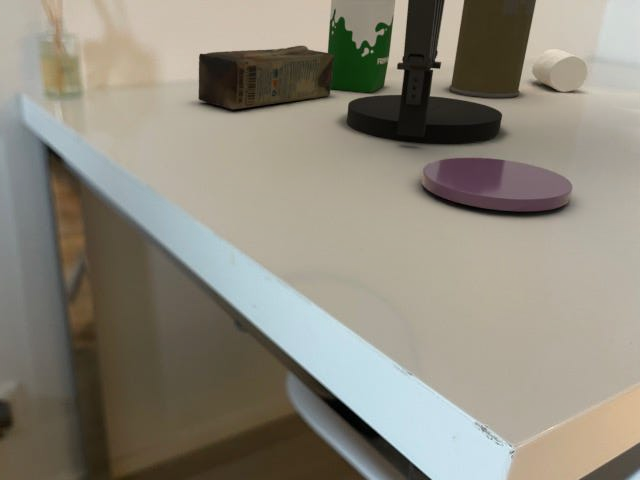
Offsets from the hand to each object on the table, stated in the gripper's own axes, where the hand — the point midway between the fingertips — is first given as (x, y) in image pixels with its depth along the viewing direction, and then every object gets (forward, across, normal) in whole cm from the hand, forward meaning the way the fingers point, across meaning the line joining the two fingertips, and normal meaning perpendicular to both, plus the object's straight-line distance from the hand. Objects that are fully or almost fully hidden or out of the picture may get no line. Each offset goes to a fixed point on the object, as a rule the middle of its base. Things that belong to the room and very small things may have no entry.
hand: (410, 134), depth 70 cm
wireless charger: (+2, -11, 0) cm, 11 cm away
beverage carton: (+1, -18, -22) cm, 29 cm away
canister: (+2, -40, +6) cm, 40 cm away
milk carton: (+2, -34, -13) cm, 36 cm away
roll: (+2, -52, +16) cm, 54 cm away
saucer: (+1, +13, +9) cm, 16 cm away
